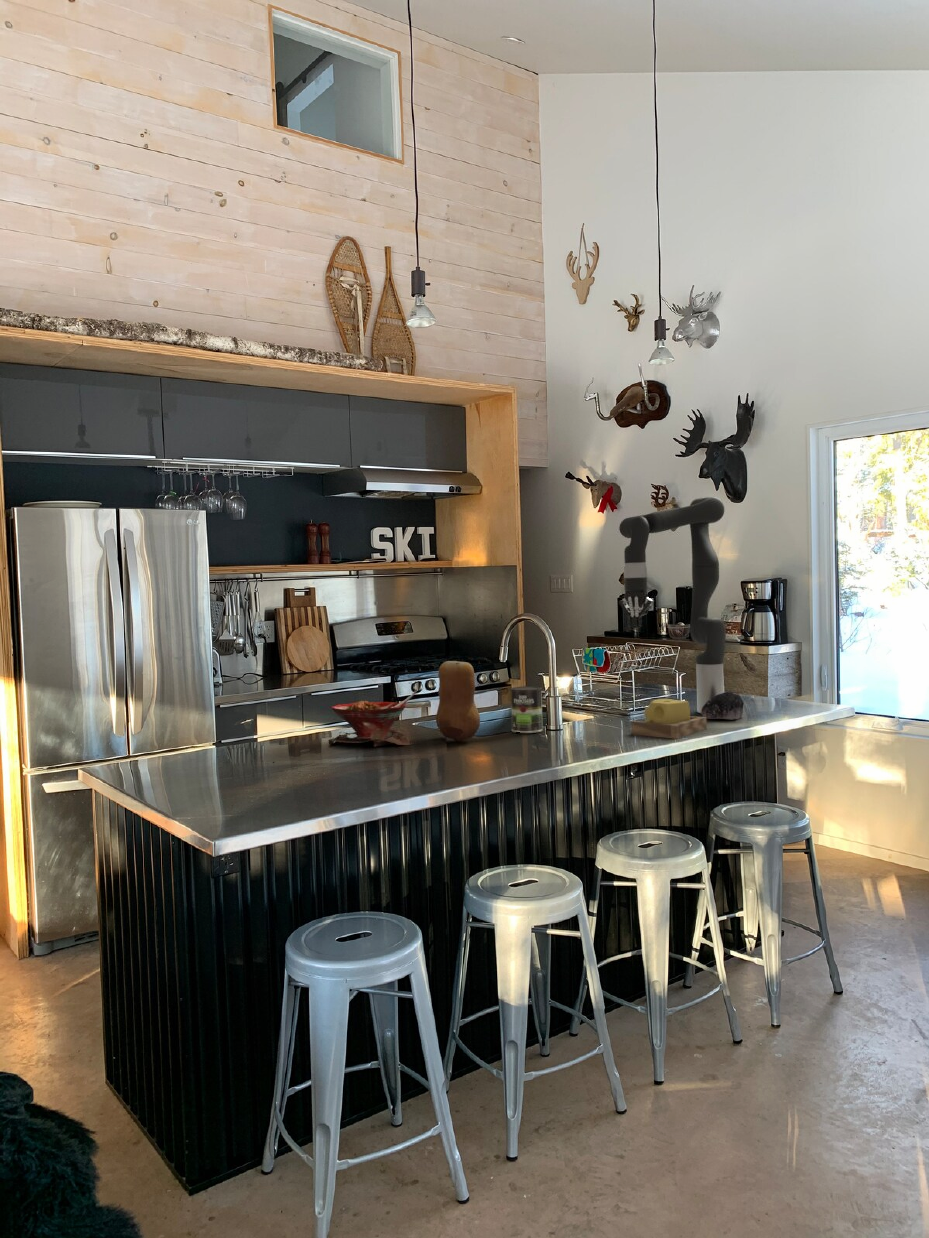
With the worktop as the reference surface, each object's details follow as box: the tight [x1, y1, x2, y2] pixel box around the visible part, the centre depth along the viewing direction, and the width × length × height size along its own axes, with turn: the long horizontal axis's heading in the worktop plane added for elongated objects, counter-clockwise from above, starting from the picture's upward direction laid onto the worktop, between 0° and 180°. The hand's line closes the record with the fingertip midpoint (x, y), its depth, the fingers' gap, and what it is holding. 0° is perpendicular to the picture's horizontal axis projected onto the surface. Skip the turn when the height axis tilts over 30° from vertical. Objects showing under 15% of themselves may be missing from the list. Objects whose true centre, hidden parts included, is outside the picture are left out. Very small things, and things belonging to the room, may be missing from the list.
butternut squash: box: [435, 660, 481, 742], centre depth 300 cm, size 14×13×25 cm
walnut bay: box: [630, 715, 707, 740], centre depth 301 cm, size 19×16×4 cm
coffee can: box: [509, 685, 544, 734], centre depth 313 cm, size 10×10×14 cm
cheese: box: [643, 698, 691, 724], centre depth 302 cm, size 10×11×10 cm
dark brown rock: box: [701, 690, 744, 721], centre depth 321 cm, size 13×14×10 cm
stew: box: [328, 689, 418, 748], centre depth 300 cm, size 28×24×16 cm
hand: (636, 628), depth 321 cm, fingers closed
